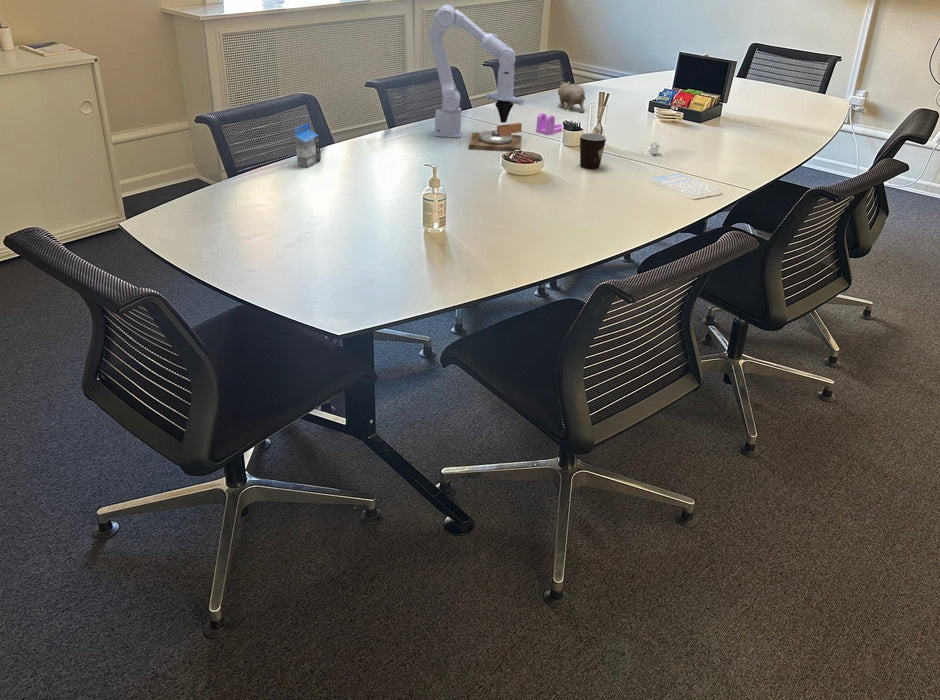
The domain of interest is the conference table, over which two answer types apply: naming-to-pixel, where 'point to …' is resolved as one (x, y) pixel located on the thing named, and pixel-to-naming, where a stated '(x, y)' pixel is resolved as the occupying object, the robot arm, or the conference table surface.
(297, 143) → the label tape box
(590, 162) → the coffee mug
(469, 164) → the conference table surface
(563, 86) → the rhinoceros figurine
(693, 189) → the calculator
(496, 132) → the dial
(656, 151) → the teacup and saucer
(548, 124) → the bracket
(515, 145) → the stand
